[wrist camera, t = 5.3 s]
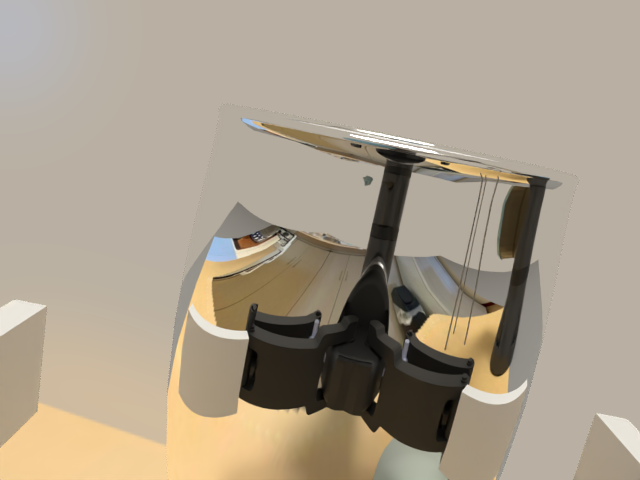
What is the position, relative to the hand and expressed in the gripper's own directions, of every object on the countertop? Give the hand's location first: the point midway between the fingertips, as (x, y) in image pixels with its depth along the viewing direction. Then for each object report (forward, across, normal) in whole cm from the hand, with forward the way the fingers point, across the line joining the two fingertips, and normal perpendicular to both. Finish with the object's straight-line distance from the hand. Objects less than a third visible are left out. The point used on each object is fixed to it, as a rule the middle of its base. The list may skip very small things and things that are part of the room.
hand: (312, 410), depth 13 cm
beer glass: (-1, 0, -9) cm, 9 cm away
